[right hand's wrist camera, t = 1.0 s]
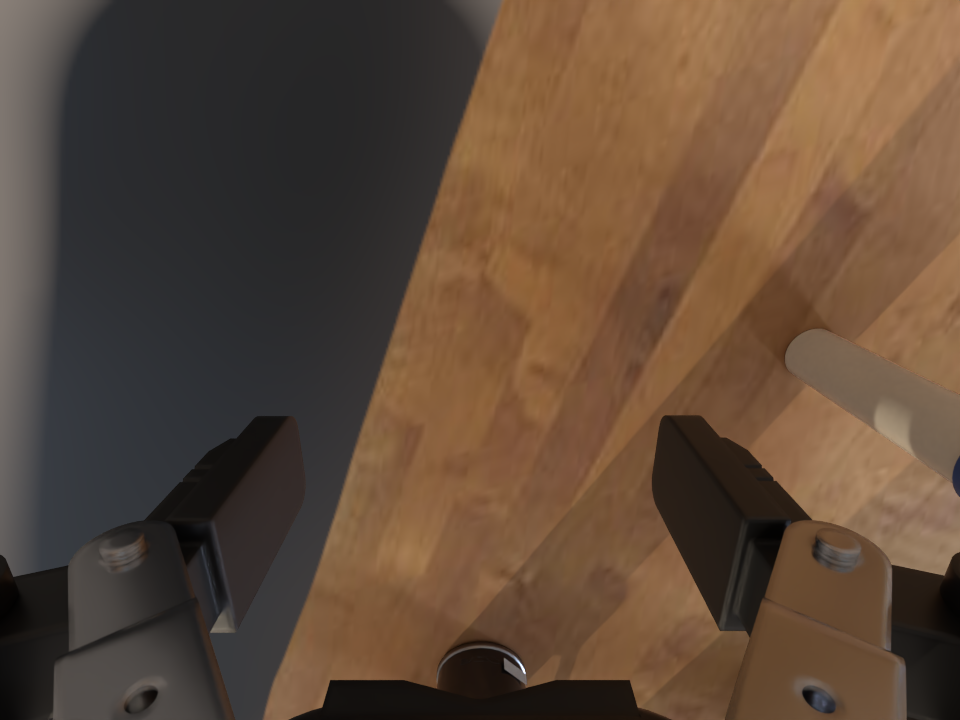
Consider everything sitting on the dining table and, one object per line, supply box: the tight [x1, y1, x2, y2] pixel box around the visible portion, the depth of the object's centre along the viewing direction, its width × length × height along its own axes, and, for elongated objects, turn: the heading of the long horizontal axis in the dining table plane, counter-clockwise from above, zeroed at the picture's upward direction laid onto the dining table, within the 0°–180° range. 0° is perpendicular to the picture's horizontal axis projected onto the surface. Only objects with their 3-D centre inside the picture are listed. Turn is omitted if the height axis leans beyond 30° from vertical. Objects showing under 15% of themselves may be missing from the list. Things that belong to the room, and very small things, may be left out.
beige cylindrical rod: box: [785, 329, 960, 484], centre depth 34 cm, size 4×4×18 cm
